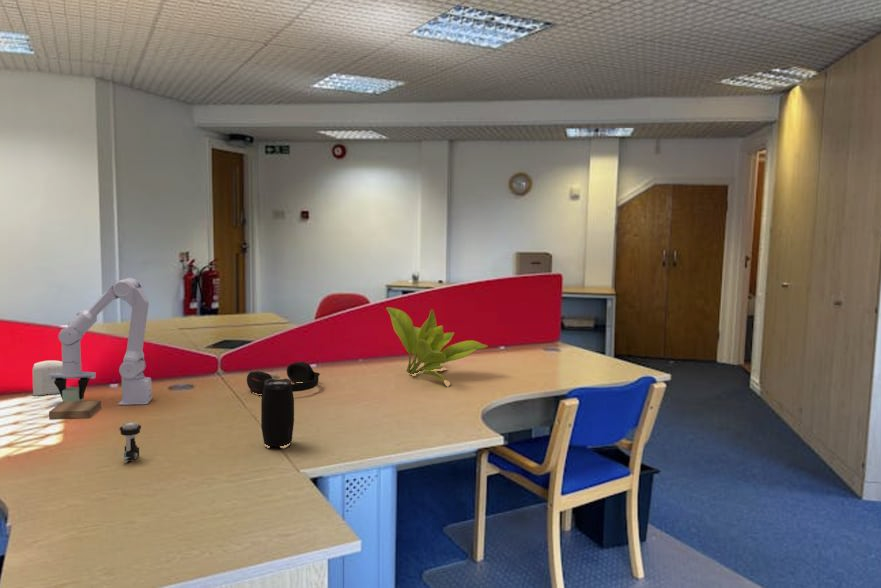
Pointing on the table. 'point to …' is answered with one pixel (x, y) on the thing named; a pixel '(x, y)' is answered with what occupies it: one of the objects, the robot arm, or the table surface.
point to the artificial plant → (428, 343)
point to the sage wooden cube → (71, 394)
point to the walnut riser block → (75, 410)
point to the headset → (294, 372)
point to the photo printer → (45, 377)
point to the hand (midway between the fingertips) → (73, 398)
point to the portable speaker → (277, 412)
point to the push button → (130, 440)
